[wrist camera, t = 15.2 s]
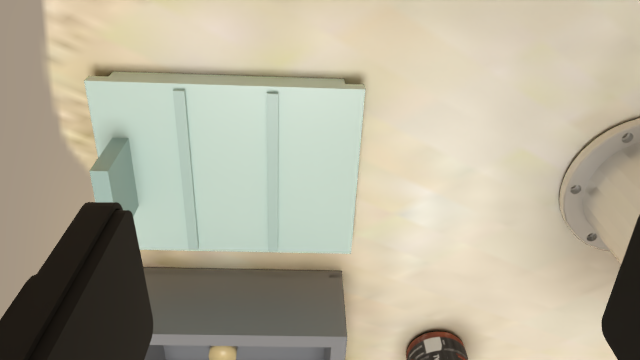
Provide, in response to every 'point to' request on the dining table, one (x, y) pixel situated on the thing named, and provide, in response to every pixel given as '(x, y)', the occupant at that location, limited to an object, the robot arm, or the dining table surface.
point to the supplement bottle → (436, 347)
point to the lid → (229, 159)
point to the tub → (246, 314)
